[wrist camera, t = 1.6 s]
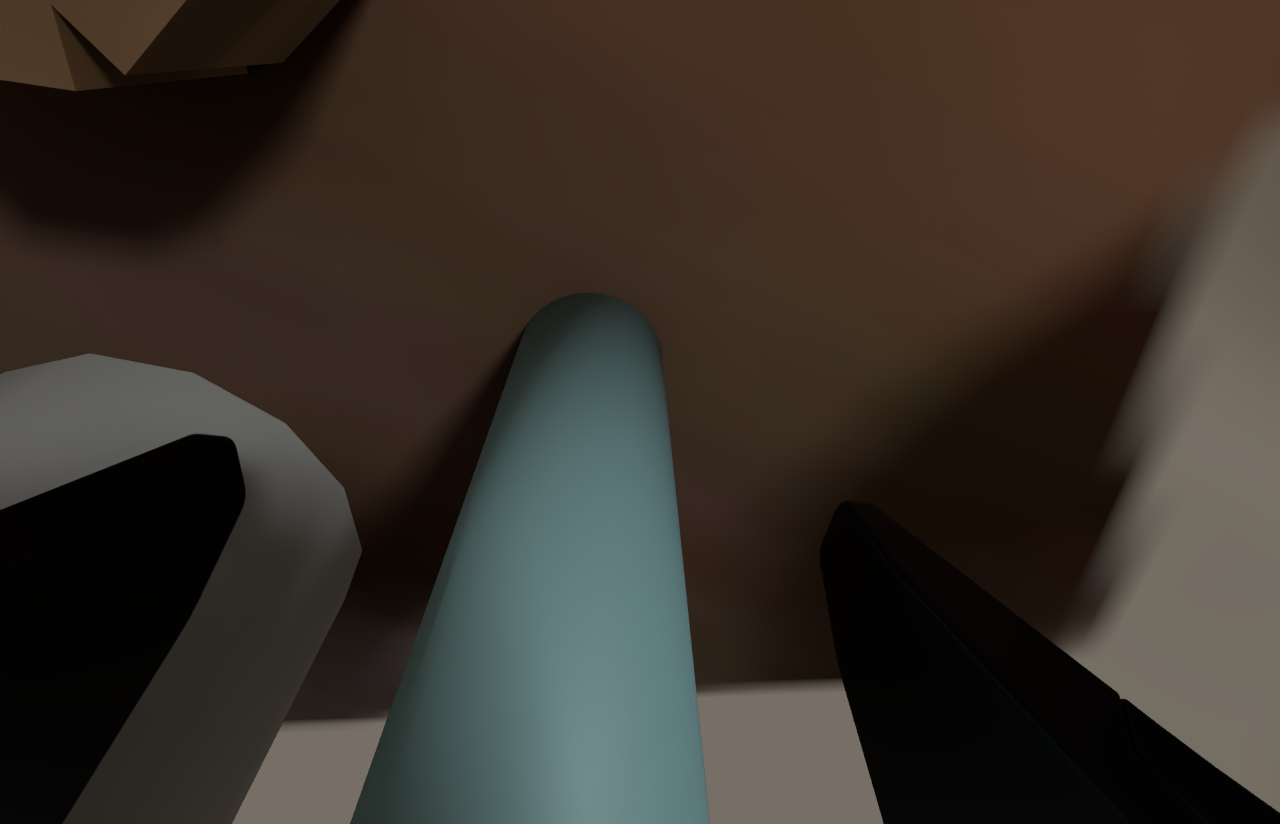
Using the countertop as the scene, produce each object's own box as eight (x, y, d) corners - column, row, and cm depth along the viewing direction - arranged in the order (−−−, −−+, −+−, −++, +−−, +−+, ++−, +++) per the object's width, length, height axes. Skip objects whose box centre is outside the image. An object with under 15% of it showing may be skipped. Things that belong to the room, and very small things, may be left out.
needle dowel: (672, 303, 12) (793, 1037, 3) (649, 428, 13) (690, 1163, 5) (522, 283, 11) (208, 1020, 3) (516, 412, 13) (294, 1159, 4)
